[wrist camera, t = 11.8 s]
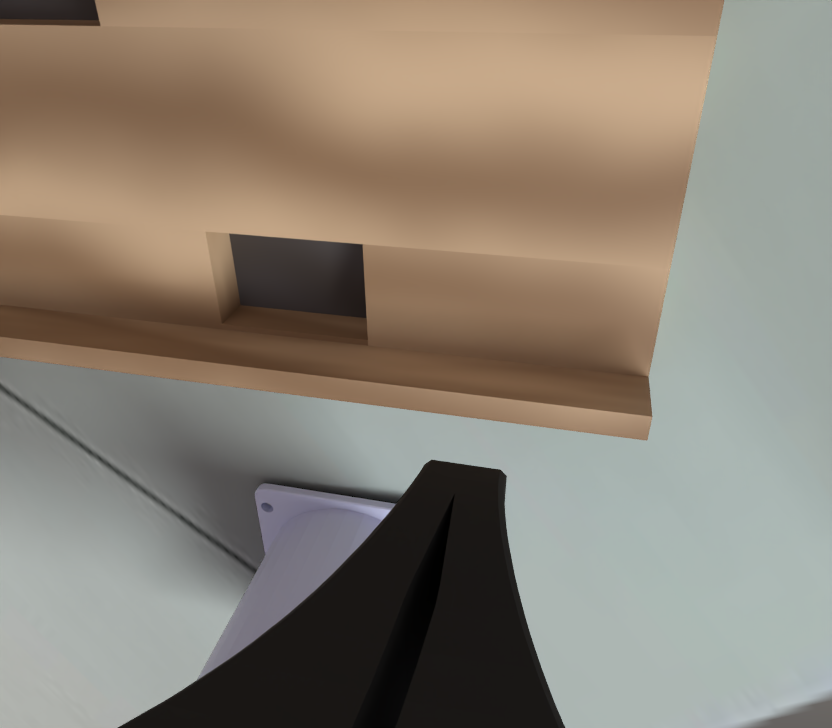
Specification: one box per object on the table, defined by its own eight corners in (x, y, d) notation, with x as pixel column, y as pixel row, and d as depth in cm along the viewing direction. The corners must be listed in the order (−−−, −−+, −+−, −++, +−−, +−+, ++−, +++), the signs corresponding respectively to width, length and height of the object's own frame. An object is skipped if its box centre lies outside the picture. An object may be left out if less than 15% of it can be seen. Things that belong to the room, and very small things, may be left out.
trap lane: (641, 373, 22) (647, 447, 18) (-113, 289, 27) (-206, 335, 24) (752, -196, 14) (793, -233, 11) (-313, -146, 20) (-484, -162, 17)
